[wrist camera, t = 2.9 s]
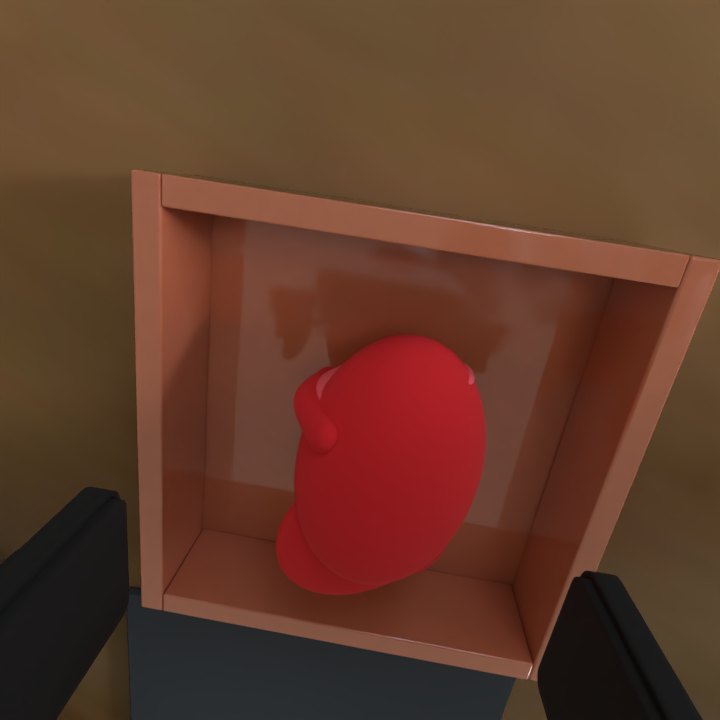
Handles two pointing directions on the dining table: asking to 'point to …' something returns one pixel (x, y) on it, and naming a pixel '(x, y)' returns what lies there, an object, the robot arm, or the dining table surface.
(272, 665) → the mat
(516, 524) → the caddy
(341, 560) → the cap
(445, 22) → the dining table surface
